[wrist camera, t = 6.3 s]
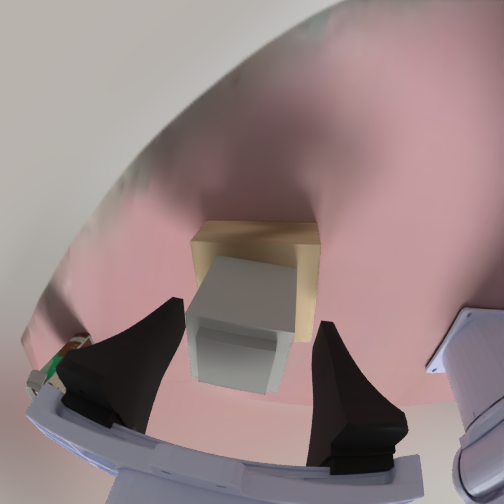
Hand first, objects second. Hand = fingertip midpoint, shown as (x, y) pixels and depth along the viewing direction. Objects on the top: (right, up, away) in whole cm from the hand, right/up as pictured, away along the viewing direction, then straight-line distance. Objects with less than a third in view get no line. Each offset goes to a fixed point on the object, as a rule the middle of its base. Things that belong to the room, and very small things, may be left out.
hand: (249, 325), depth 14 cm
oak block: (+1, +3, +5) cm, 6 cm away
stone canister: (0, +1, +2) cm, 3 cm away
